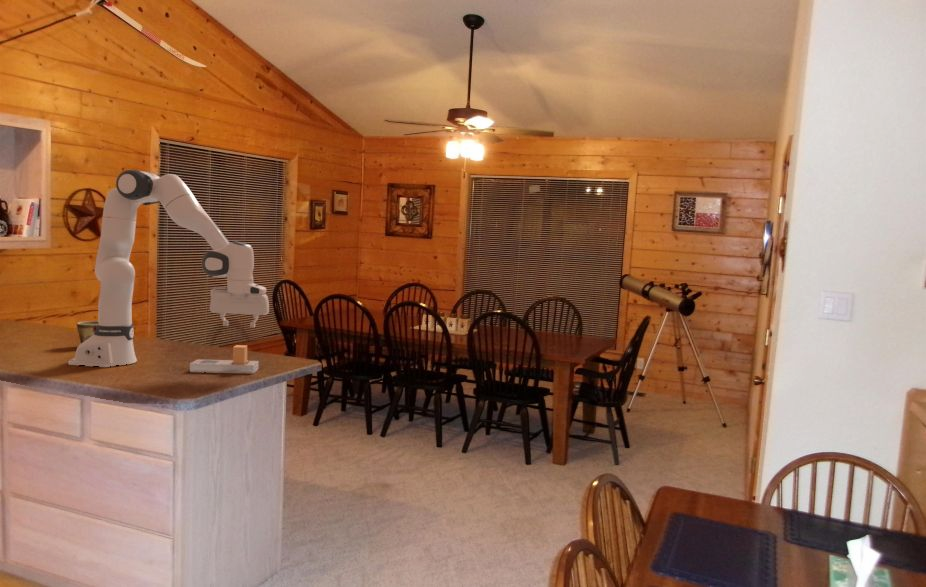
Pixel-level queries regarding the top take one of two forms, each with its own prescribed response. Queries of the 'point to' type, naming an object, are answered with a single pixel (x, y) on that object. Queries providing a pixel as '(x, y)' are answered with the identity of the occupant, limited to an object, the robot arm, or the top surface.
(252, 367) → the white recessed tray
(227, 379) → the top surface
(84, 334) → the ceramic cup
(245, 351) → the square peg
